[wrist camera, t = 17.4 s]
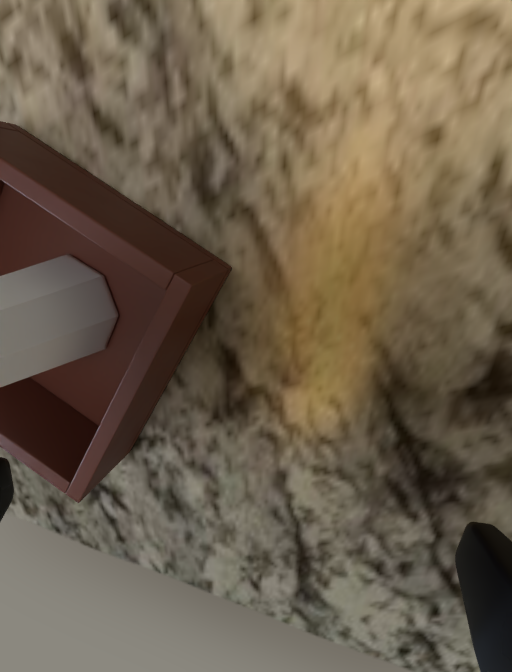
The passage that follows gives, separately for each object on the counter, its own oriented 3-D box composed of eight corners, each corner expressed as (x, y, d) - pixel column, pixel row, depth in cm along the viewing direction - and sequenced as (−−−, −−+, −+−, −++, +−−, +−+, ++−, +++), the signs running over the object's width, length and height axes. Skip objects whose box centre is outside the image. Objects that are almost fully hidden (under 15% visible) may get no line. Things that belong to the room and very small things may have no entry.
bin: (232, 267, 19) (192, 285, 15) (130, 451, 24) (78, 504, 20) (15, 123, 20) (-80, 103, 16) (-41, 330, 25) (-126, 356, 21)
